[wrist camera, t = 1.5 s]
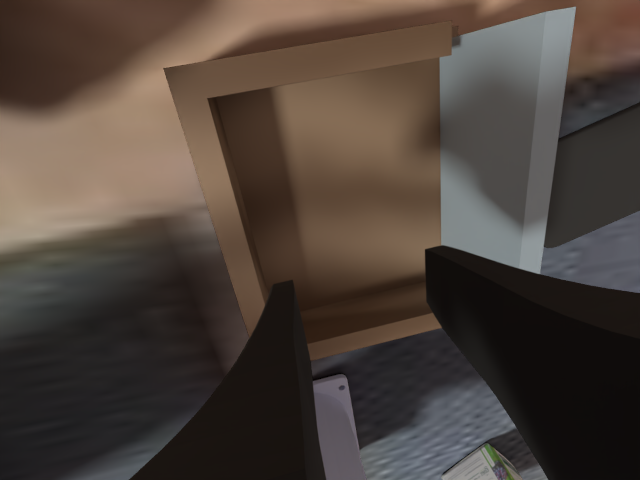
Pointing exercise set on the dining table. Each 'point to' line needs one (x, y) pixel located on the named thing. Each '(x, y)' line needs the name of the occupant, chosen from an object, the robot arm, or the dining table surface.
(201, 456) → the robot arm
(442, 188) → the cabinet door
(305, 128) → the brown shallow open box
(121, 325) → the dining table surface
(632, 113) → the phone
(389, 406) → the dining table surface
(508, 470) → the syrup box
